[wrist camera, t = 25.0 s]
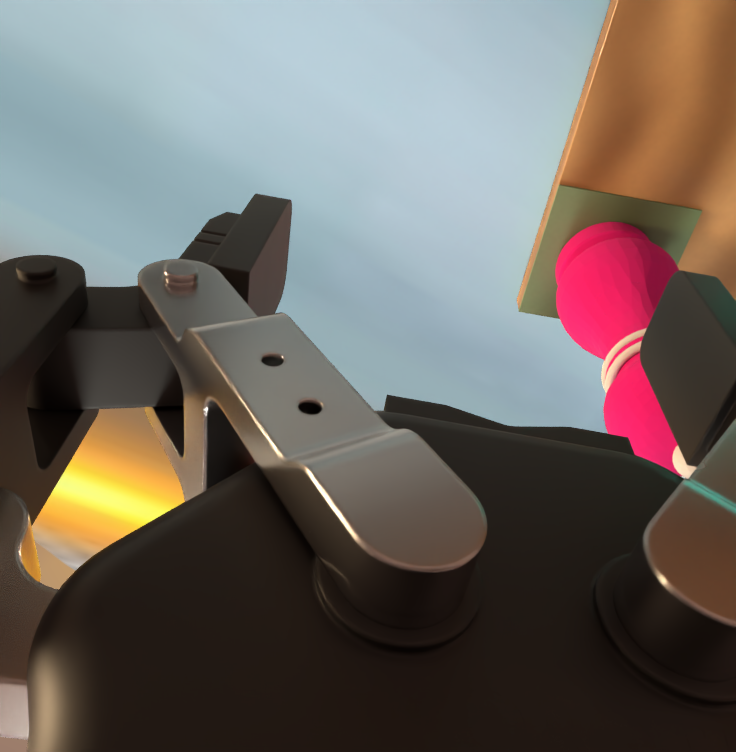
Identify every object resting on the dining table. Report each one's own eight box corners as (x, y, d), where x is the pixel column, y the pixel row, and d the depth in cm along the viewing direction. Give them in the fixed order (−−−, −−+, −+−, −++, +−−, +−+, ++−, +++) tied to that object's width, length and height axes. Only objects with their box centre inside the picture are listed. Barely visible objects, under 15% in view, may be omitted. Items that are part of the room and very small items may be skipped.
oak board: (516, 300, 47) (518, 311, 46) (617, -23, 36) (625, -21, 35) (708, 334, 47) (716, 346, 46) (870, 23, 36) (887, 27, 35)
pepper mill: (616, 189, 41) (734, 368, 24) (685, 265, 43) (836, 476, 26) (524, 266, 44) (573, 470, 28) (593, 333, 46) (676, 558, 30)
